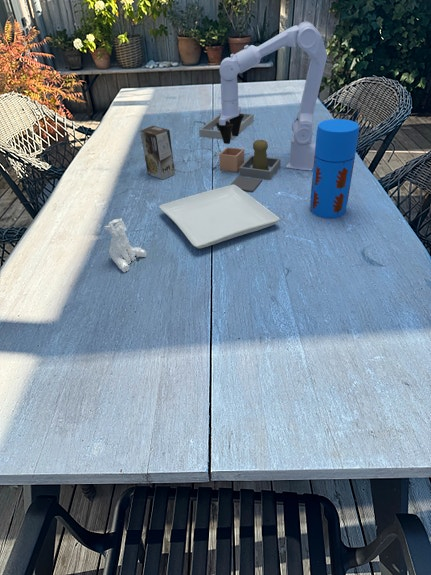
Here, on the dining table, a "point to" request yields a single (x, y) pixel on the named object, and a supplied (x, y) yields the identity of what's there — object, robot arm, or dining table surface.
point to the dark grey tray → (209, 133)
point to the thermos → (333, 167)
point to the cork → (260, 155)
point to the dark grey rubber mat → (246, 183)
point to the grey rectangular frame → (259, 173)
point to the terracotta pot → (231, 159)
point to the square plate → (218, 215)
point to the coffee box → (158, 151)
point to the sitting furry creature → (122, 245)
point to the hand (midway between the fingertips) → (231, 139)
